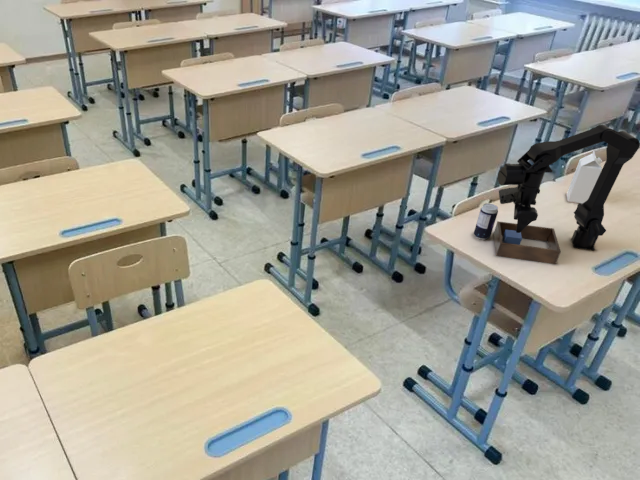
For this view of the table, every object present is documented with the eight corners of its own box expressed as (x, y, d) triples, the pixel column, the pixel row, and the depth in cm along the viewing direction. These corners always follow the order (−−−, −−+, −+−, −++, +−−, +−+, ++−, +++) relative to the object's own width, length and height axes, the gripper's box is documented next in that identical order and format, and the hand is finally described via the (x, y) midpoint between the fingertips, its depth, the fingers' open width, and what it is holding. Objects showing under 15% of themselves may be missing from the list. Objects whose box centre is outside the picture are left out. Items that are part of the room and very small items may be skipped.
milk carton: (567, 201, 219) (585, 156, 207) (566, 194, 224) (583, 149, 212) (587, 204, 217) (606, 159, 205) (585, 197, 222) (604, 152, 210)
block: (516, 243, 194) (520, 231, 191) (517, 250, 190) (522, 238, 187) (501, 241, 195) (505, 229, 192) (502, 248, 192) (506, 236, 188)
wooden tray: (549, 240, 196) (554, 228, 192) (555, 264, 184) (560, 251, 181) (493, 233, 200) (497, 221, 197) (496, 255, 188) (500, 243, 185)
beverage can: (490, 241, 195) (500, 211, 188) (474, 239, 196) (482, 209, 189) (488, 233, 200) (497, 203, 192) (472, 231, 201) (480, 202, 193)
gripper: (502, 169, 187) (490, 210, 197) (506, 193, 173) (493, 236, 183) (537, 173, 185) (523, 214, 194) (544, 197, 171) (529, 240, 180)
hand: (516, 225), depth 188 cm, fingers open, 9 cm apart
